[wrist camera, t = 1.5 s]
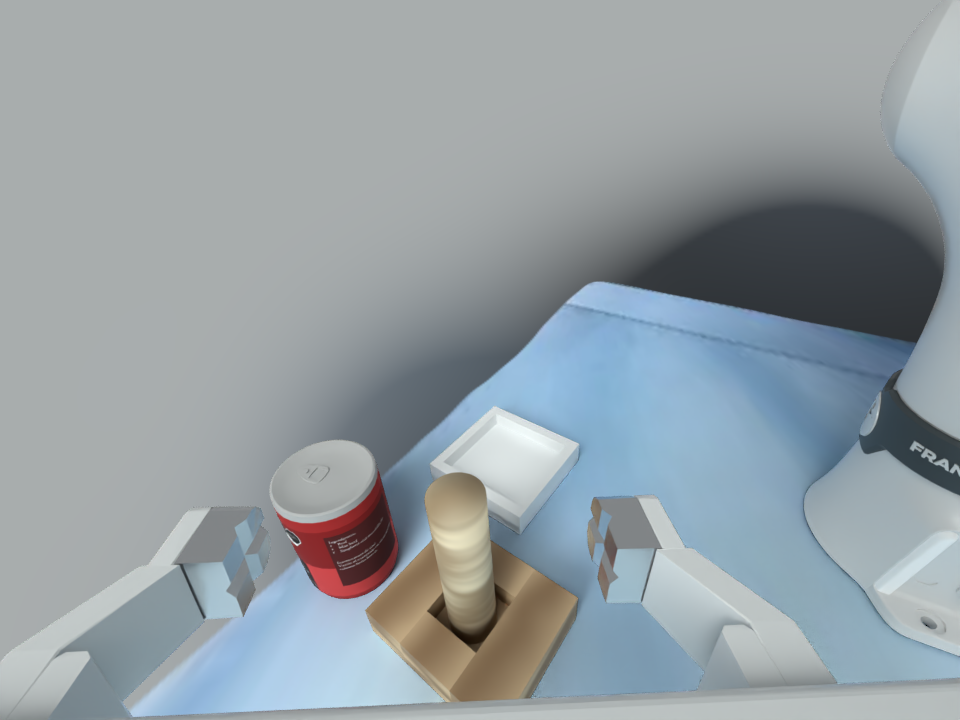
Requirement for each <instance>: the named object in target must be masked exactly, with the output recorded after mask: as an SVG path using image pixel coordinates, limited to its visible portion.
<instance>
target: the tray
mask: <svg viewBox="0 0 960 720" xmlns="http://www.w3.org/2000/svg"><path fill="white" fill-rule="evenodd" d="M578 455H579V444H578V443H576V442H574V441H572V440H570V439H567V438H565V437H563V436H561V435H558V434H556V433H554V432H552V431H549V430H547V429H545V428H543V427H541V426H538V425H536V424H534V423H532V422H529V421H527V420H525V419H523V418H520V417H518V416H516V415H514V414H511V413H509V412H507V411H505V410H503V409H500V408H498V407H496V406H494V407H493V408H492V409H490V410H489V411H488V412H487V413H486V414H485V415H484V416H483V417H481V418H480V419H479V420H478V421H477V422H476V423H475V424H474V425H472V426H471V427H470V428H469V429H468V430H467V431H466V432H465V433H463V434H462V435H461V436H460V437H459V438H458V439H457V440H456V441H455V442H453V443H452V444H451V445H450V446H449V447H448V448H447V449H446V450H444V451H443V452H442V453H441V454H440V455H439V456H438V457H437V458H435V459H434V460H433V461H432V462H431V463H430V469H431V474H432V480H433V481H435V480H436V479H438V478H439V477H441V476H443V475H446V474H449V473H454V472H463V473H468V474H471V475H473V476H475V477H477V478H478V479H479V480H480V481H481V482H482V483H483V485H484V487H485V489H486V495H487V507H488V515H489V516H490V517H492V518H494V519H495V520H497V521H498V522H500V523H502V524H503V525H505V526H506V527H508V528H510V529H511V530H513V531H514V532H516V533H518V534H519V535H521V533H522V532H523V531H524V529H525V528H526V527H527V526H528V524H529V523H530V522H531V520H532V519H533V518H534V517H535V515H536V514H537V513H538V511H539V510H540V509H541V508H542V506H543V505H544V504H545V503H546V501H547V500H548V499H549V497H550V496H551V495H552V494H553V492H554V491H555V490H556V488H557V487H558V486H559V485H560V483H561V482H562V481H563V479H564V478H565V477H566V476H567V474H568V473H569V472H570V471H571V469H572V468H573V467H574V465H575V464H576V463H577V462H578Z"/></svg>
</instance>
